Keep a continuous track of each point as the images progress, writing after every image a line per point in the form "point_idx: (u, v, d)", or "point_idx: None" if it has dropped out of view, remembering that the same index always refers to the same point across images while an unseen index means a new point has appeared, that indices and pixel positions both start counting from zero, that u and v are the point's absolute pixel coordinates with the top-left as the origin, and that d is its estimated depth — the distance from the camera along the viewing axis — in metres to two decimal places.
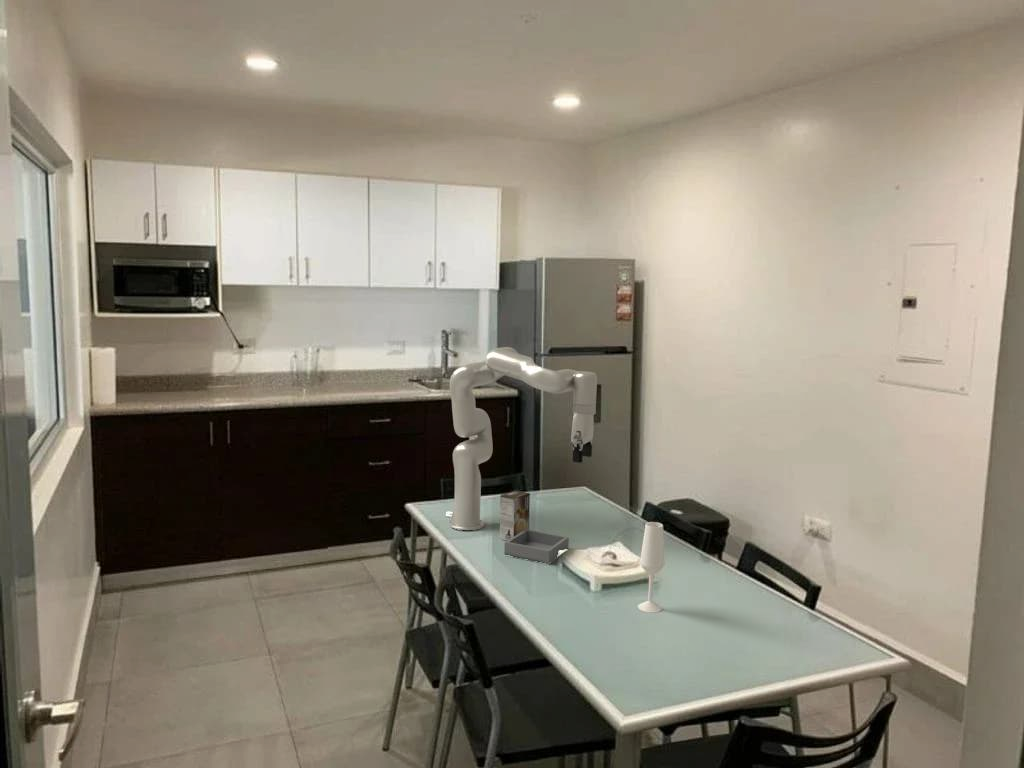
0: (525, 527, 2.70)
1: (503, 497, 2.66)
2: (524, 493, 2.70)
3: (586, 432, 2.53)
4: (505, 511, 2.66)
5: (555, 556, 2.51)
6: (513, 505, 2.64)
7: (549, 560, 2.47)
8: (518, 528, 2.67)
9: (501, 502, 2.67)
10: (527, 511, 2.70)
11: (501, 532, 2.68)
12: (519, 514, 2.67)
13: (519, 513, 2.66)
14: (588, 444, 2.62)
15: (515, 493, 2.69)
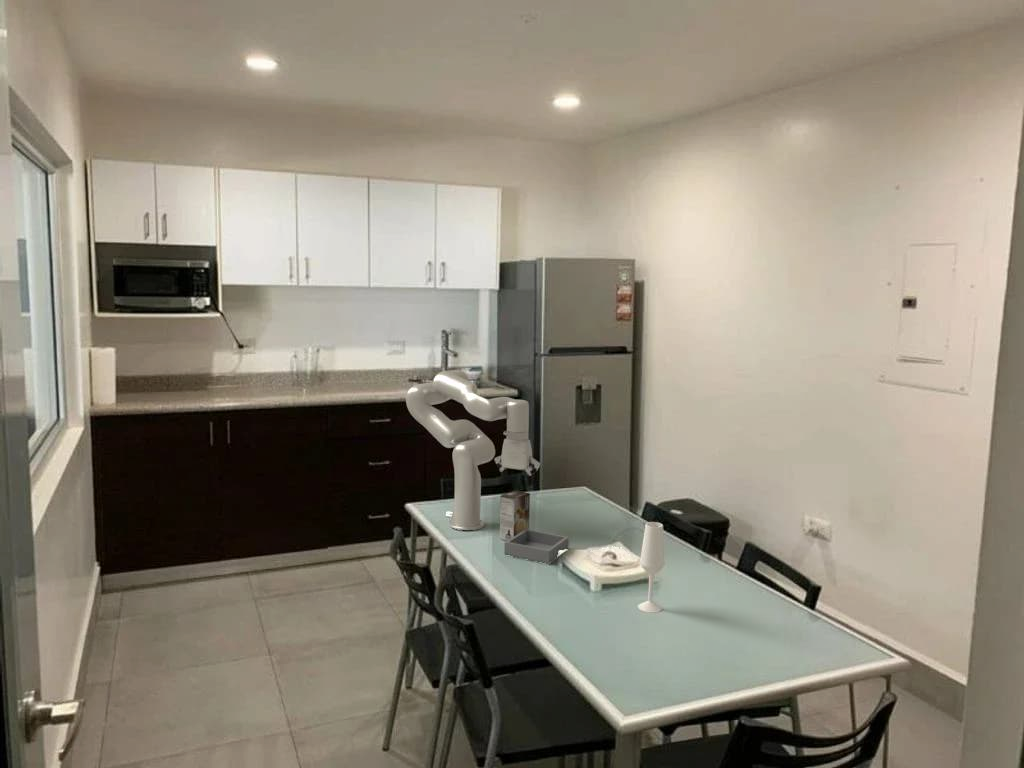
0: (525, 527, 2.70)
1: (503, 497, 2.66)
2: (524, 493, 2.70)
3: None
4: (505, 511, 2.66)
5: (555, 556, 2.51)
6: (513, 505, 2.64)
7: (549, 560, 2.47)
8: (518, 528, 2.67)
9: (501, 502, 2.67)
10: (527, 511, 2.70)
11: (501, 532, 2.68)
12: (519, 515, 2.67)
13: (519, 513, 2.66)
14: (505, 470, 2.70)
15: (515, 493, 2.69)
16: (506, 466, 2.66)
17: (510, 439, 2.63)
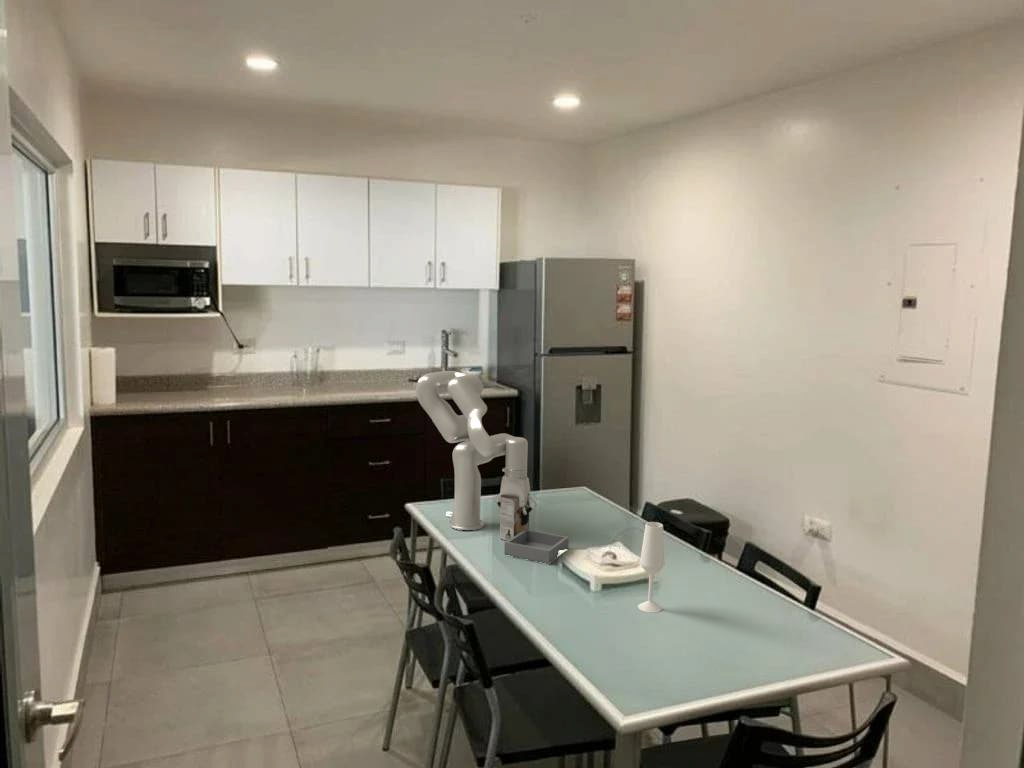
0: (525, 527, 2.70)
1: (503, 497, 2.66)
2: None
3: None
4: (505, 511, 2.66)
5: (555, 556, 2.51)
6: (513, 505, 2.64)
7: (549, 560, 2.47)
8: (518, 528, 2.67)
9: (501, 502, 2.67)
10: None
11: (501, 532, 2.68)
12: (519, 514, 2.67)
13: (519, 513, 2.66)
14: None
15: None
16: None
17: (509, 477, 2.65)
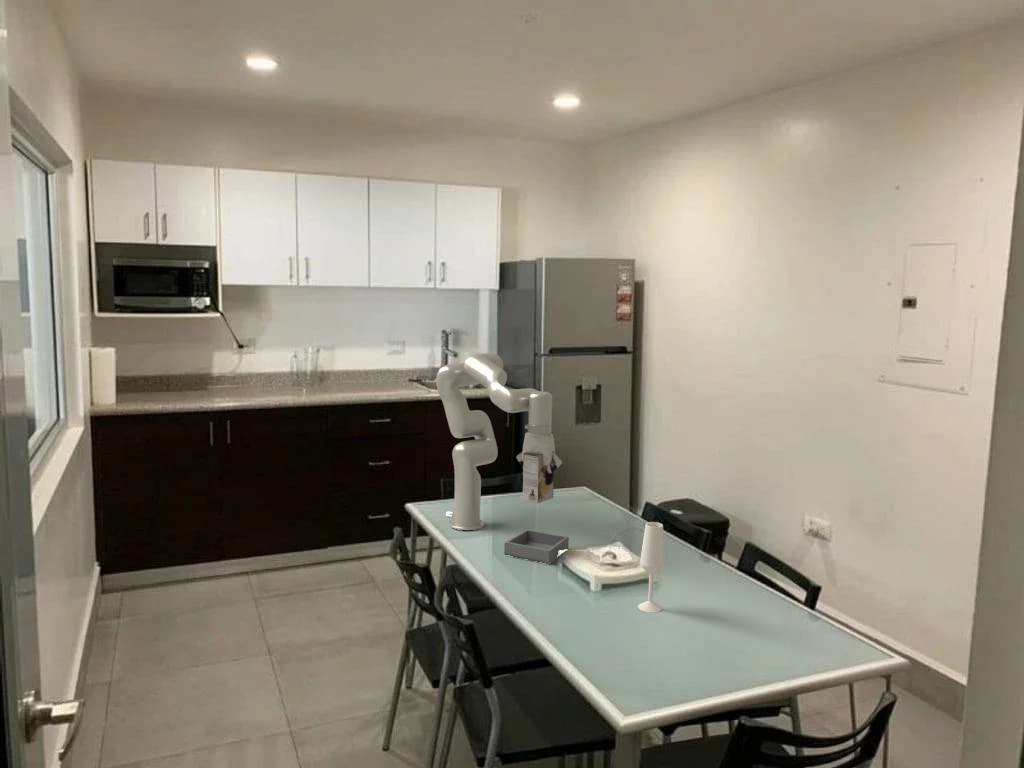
0: (549, 488, 2.54)
1: (526, 455, 2.50)
2: None
3: None
4: (528, 469, 2.51)
5: (555, 556, 2.51)
6: (538, 463, 2.48)
7: (549, 560, 2.47)
8: (542, 488, 2.51)
9: (524, 460, 2.51)
10: None
11: (524, 492, 2.53)
12: (544, 473, 2.51)
13: (543, 471, 2.50)
14: None
15: None
16: None
17: (532, 433, 2.49)
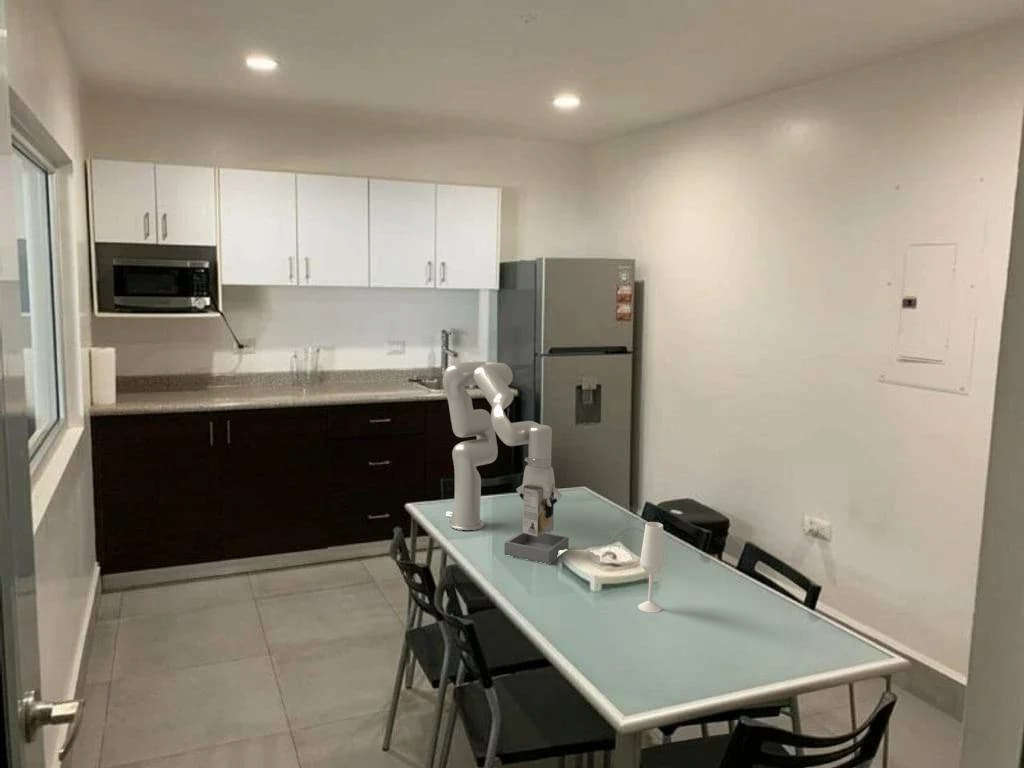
0: (549, 520, 2.55)
1: (526, 488, 2.51)
2: None
3: None
4: (528, 503, 2.52)
5: (555, 556, 2.51)
6: (537, 496, 2.49)
7: (549, 560, 2.47)
8: (542, 521, 2.52)
9: (524, 494, 2.52)
10: None
11: (524, 525, 2.54)
12: (544, 506, 2.52)
13: (543, 505, 2.51)
14: None
15: None
16: None
17: (532, 466, 2.50)
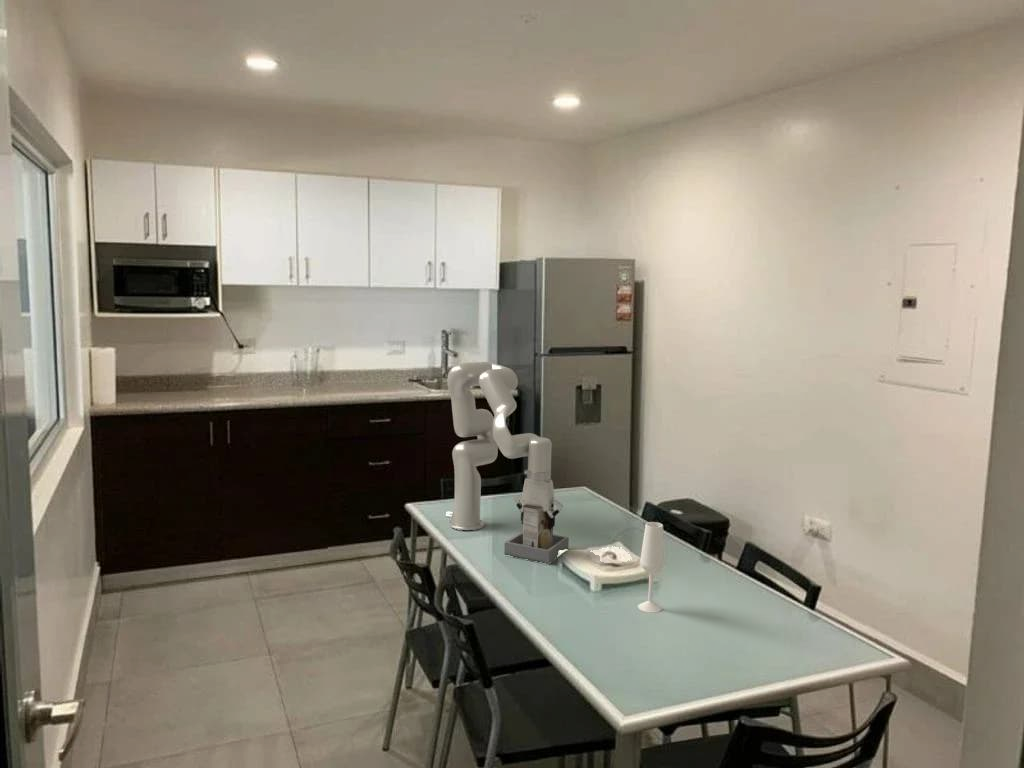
0: (549, 539, 2.56)
1: (526, 507, 2.52)
2: None
3: None
4: (528, 522, 2.52)
5: (555, 556, 2.51)
6: (538, 515, 2.50)
7: (549, 560, 2.47)
8: (542, 539, 2.53)
9: (524, 513, 2.53)
10: None
11: (524, 544, 2.54)
12: (544, 525, 2.53)
13: (543, 523, 2.52)
14: None
15: None
16: None
17: (532, 479, 2.51)
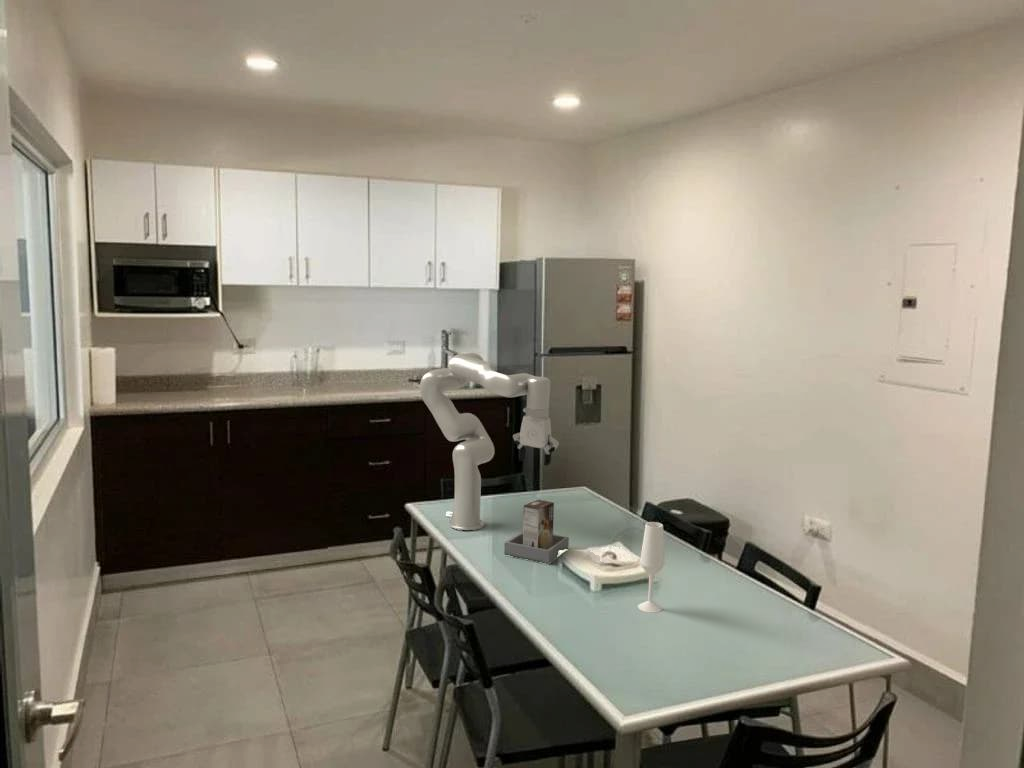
0: (549, 539, 2.56)
1: (526, 507, 2.52)
2: (548, 503, 2.56)
3: None
4: (528, 522, 2.52)
5: (555, 556, 2.51)
6: (538, 516, 2.50)
7: (549, 560, 2.47)
8: (542, 540, 2.53)
9: (524, 513, 2.53)
10: (551, 521, 2.56)
11: (524, 544, 2.54)
12: (544, 525, 2.53)
13: (543, 524, 2.52)
14: (523, 447, 2.66)
15: (539, 503, 2.55)
16: (524, 443, 2.62)
17: (529, 416, 2.59)
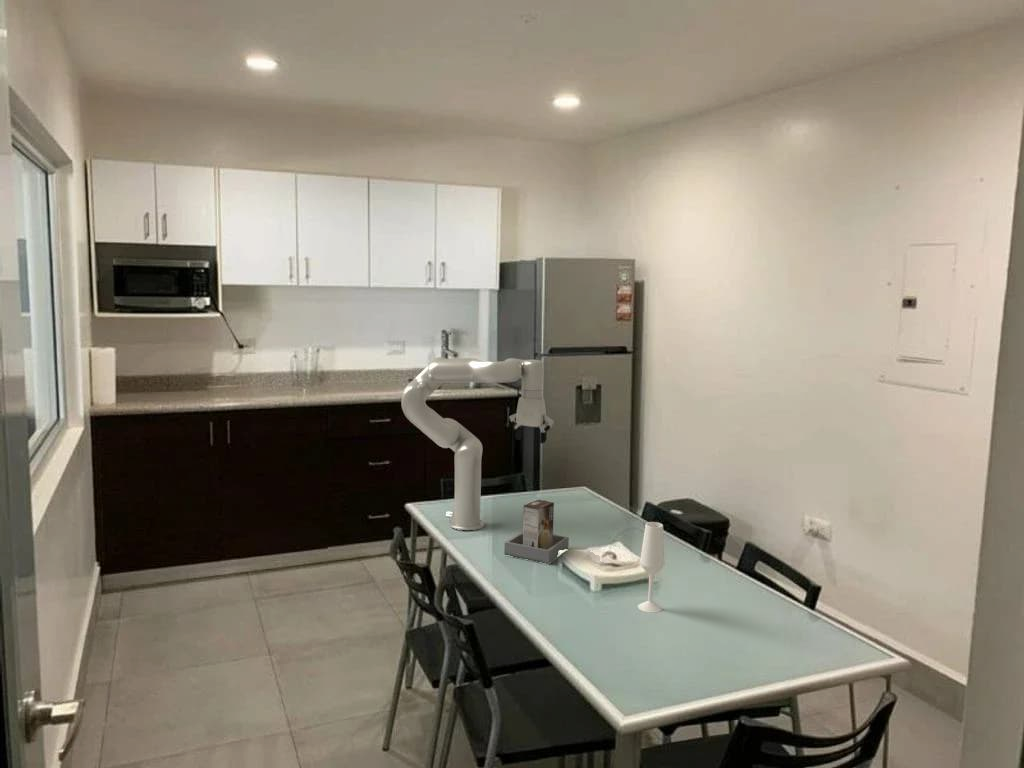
0: (549, 539, 2.56)
1: (526, 507, 2.52)
2: (548, 503, 2.56)
3: None
4: (528, 522, 2.52)
5: (555, 556, 2.51)
6: (538, 516, 2.50)
7: (549, 560, 2.47)
8: (542, 540, 2.53)
9: (524, 513, 2.53)
10: (551, 521, 2.56)
11: (524, 544, 2.54)
12: (544, 525, 2.53)
13: (543, 524, 2.52)
14: (520, 428, 2.80)
15: (539, 503, 2.55)
16: (521, 423, 2.76)
17: (525, 397, 2.73)
